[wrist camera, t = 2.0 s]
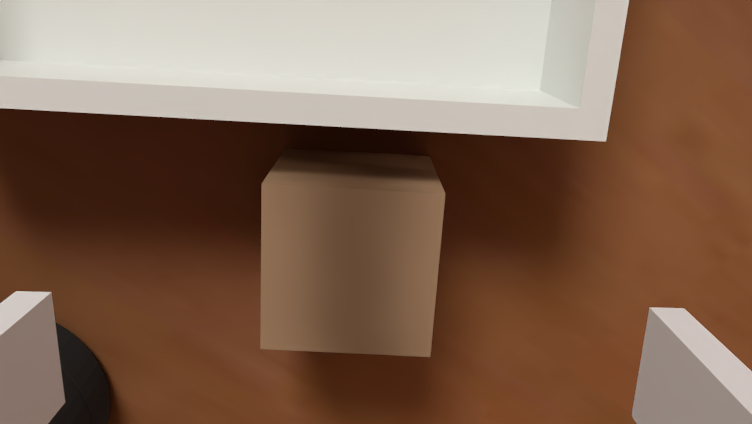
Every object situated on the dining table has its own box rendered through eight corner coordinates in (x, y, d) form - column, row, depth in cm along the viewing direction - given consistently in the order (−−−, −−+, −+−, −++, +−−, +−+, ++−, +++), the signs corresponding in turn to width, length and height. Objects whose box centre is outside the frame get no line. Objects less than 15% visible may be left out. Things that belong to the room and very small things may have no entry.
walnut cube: (282, 281, 28) (260, 348, 23) (284, 147, 27) (261, 183, 21) (418, 288, 29) (430, 357, 23) (429, 155, 27) (445, 193, 21)
